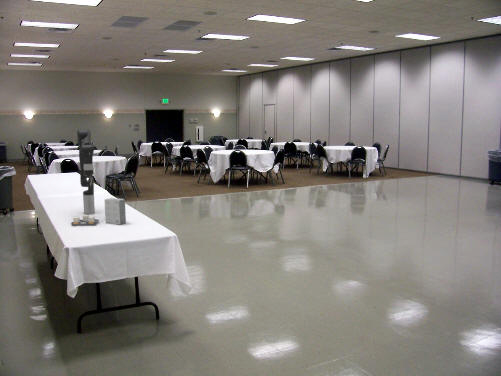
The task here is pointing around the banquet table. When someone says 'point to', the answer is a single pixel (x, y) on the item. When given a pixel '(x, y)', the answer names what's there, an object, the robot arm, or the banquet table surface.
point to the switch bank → (85, 223)
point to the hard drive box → (115, 211)
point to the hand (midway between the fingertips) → (89, 189)
